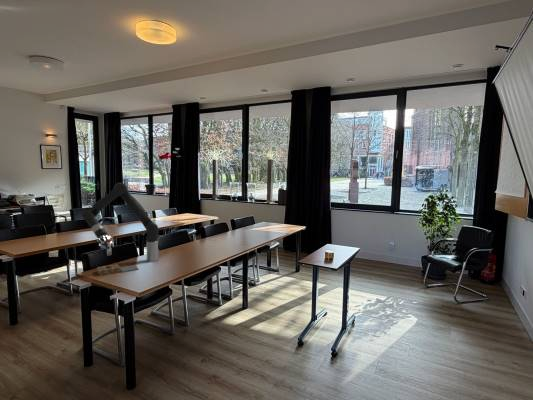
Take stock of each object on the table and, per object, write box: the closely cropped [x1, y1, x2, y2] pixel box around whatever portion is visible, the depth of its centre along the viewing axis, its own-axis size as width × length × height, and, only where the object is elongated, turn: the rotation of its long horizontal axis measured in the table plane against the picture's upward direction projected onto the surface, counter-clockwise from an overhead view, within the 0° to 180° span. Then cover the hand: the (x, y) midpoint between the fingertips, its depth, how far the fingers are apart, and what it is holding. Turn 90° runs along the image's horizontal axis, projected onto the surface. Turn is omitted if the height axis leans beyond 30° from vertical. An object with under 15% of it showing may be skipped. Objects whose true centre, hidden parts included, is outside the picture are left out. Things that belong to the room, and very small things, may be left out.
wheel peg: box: [106, 239, 112, 257], centre depth 239 cm, size 4×4×12 cm
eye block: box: [96, 263, 121, 276], centre depth 240 cm, size 14×12×4 cm
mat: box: [119, 264, 139, 273], centre depth 247 cm, size 12×12×1 cm
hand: (111, 248), depth 238 cm, fingers closed on wheel peg, 3 cm apart
